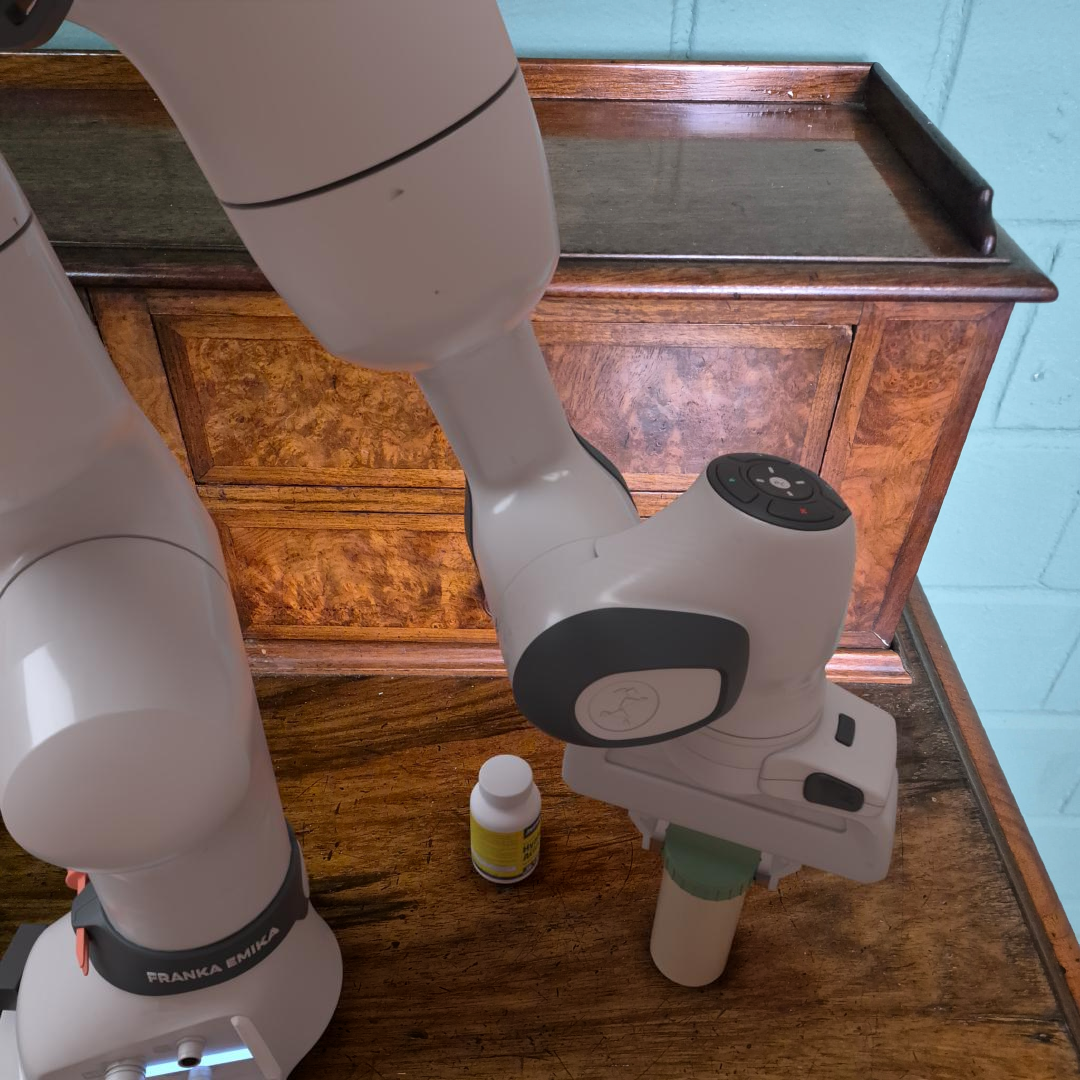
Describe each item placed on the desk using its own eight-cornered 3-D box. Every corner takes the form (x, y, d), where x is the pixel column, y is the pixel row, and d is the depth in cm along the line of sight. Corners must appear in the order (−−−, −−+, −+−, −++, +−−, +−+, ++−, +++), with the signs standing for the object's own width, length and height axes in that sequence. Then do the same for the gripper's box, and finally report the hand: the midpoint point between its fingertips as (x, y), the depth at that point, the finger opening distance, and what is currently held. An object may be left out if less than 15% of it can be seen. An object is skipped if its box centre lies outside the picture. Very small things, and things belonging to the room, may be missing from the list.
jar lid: (746, 916, 59) (750, 901, 58) (650, 881, 61) (652, 866, 60) (766, 837, 64) (770, 821, 63) (676, 807, 65) (678, 791, 64)
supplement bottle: (532, 892, 73) (533, 810, 67) (464, 879, 74) (459, 797, 68) (546, 834, 77) (548, 752, 71) (481, 822, 78) (478, 741, 72)
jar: (670, 998, 66) (693, 898, 59) (637, 927, 70) (654, 825, 63) (741, 972, 68) (771, 872, 60) (704, 904, 72) (728, 802, 64)
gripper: (547, 704, 55) (546, 850, 63) (917, 810, 49) (863, 956, 57) (583, 635, 60) (577, 780, 68) (925, 725, 54) (873, 871, 62)
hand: (710, 861), depth 62 cm, fingers closed on jar lid, 6 cm apart
